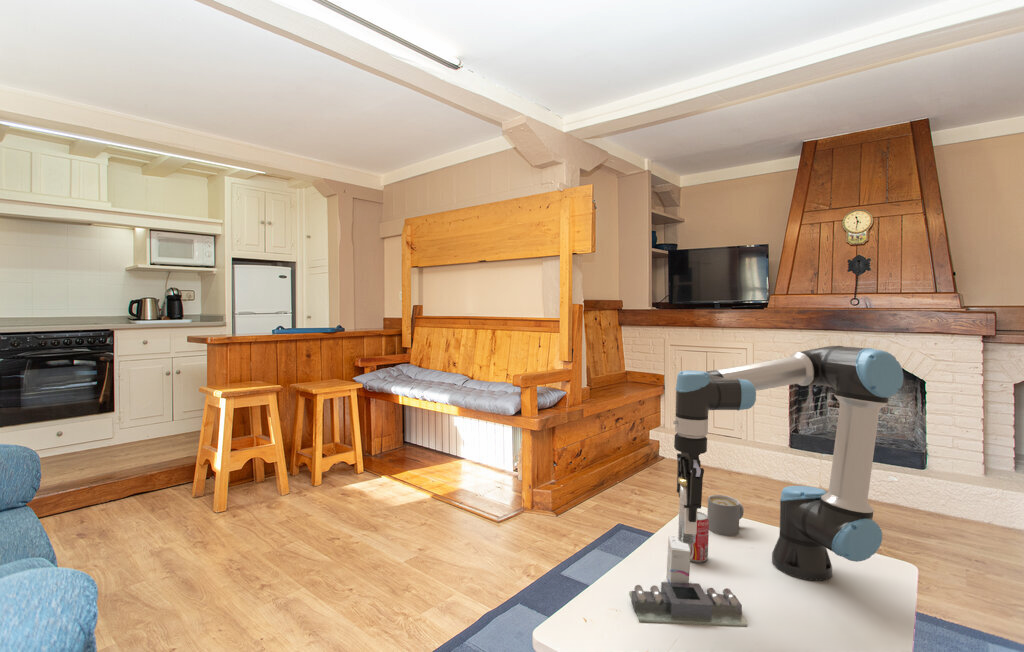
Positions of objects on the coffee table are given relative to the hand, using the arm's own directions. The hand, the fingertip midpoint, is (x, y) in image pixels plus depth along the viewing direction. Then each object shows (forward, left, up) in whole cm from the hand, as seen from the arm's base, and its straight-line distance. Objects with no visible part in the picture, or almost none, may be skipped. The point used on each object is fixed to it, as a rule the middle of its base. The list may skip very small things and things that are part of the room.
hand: (687, 529), depth 126 cm
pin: (0, 0, -3) cm, 3 cm away
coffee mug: (-28, -48, -20) cm, 60 cm away
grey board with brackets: (0, 0, -20) cm, 20 cm away
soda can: (-11, -27, -20) cm, 35 cm away
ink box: (-1, -11, -20) cm, 23 cm away
